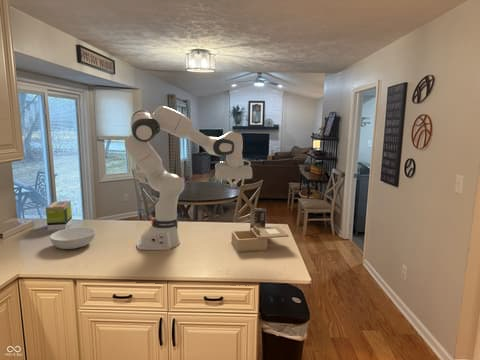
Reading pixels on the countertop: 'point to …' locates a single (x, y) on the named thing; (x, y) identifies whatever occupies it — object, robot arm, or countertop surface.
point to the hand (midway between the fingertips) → (233, 187)
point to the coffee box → (257, 217)
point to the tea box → (59, 215)
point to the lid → (268, 232)
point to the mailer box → (248, 242)
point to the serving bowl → (72, 237)
